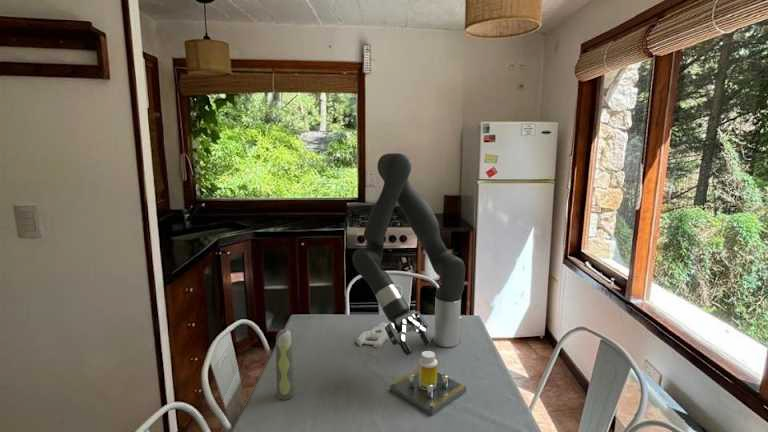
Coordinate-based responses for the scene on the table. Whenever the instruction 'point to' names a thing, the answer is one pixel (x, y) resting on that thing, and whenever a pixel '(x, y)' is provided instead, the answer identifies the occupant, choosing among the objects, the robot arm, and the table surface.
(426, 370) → the supplement bottle
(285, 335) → the tall green-filled container
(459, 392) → the grey peg fixture plate
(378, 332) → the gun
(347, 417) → the table surface
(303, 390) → the table surface
